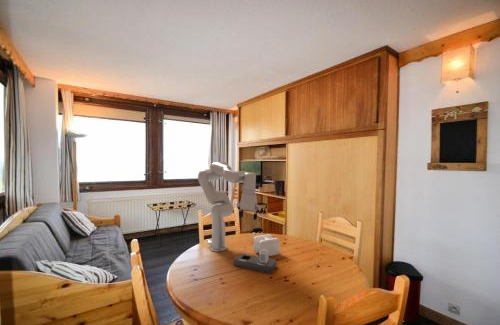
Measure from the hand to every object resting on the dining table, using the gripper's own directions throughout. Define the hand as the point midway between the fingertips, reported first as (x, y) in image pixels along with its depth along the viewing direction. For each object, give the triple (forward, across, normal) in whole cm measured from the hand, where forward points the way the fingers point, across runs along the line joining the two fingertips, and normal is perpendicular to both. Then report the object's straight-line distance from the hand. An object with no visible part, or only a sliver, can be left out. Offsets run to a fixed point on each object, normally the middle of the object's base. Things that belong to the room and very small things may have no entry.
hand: (248, 218), depth 149 cm
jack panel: (+26, +9, -6) cm, 28 cm away
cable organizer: (+27, +9, +14) cm, 32 cm away
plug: (+26, +15, -6) cm, 31 cm away
